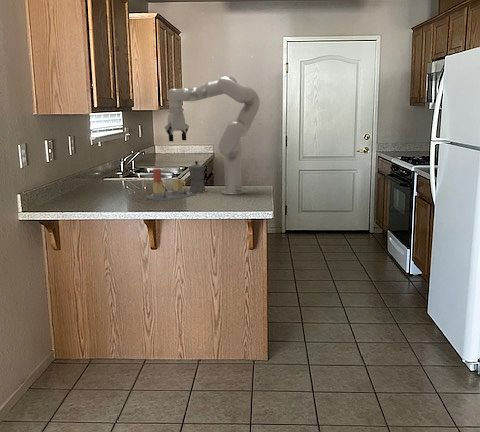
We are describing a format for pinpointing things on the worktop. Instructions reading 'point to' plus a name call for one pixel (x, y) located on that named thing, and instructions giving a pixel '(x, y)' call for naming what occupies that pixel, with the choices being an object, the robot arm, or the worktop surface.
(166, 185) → the grey stapler
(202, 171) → the coffeepot
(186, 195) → the gauge plate
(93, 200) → the worktop surface
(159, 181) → the block
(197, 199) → the worktop surface
